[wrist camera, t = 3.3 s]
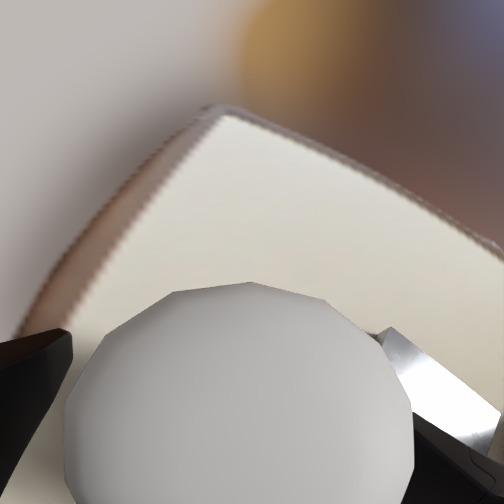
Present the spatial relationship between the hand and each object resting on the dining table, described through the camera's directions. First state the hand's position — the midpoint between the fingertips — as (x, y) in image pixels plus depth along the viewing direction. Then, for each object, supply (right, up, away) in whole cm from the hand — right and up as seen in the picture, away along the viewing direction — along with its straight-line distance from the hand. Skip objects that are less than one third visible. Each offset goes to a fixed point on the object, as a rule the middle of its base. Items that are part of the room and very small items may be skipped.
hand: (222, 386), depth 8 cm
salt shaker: (-2, -5, +5) cm, 7 cm away
